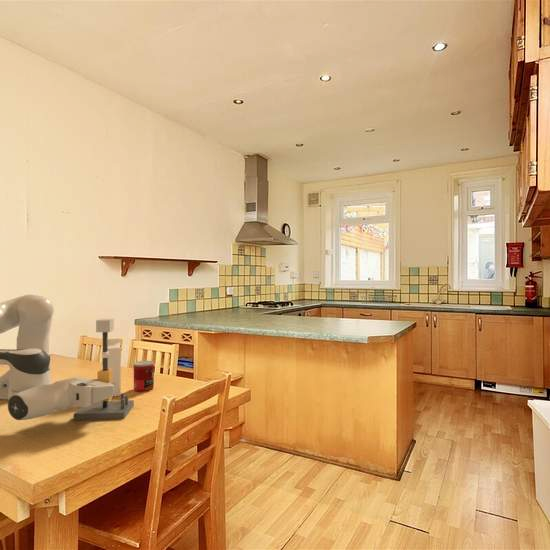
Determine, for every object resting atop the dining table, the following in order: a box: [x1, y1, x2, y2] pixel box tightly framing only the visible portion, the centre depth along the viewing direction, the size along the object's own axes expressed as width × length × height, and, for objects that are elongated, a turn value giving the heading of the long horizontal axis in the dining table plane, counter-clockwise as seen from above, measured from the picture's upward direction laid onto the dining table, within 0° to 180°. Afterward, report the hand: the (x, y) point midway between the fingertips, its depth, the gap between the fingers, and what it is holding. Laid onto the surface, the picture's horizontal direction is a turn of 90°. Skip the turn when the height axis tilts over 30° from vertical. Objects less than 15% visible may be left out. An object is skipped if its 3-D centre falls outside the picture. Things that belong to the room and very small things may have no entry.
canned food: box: [133, 360, 155, 393], centre depth 160 cm, size 8×8×11 cm
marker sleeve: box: [96, 368, 114, 401], centre depth 133 cm, size 4×4×10 cm
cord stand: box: [73, 318, 135, 421], centre depth 133 cm, size 16×12×32 cm
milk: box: [101, 337, 122, 397], centre depth 152 cm, size 6×6×22 cm
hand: (107, 381), depth 134 cm, fingers closed on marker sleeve, 5 cm apart
